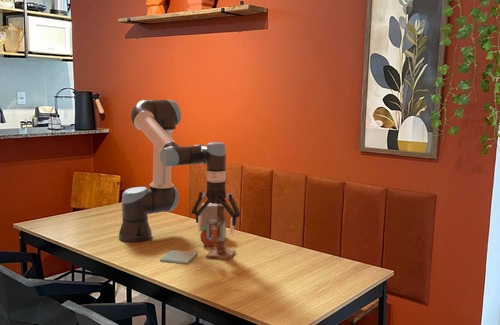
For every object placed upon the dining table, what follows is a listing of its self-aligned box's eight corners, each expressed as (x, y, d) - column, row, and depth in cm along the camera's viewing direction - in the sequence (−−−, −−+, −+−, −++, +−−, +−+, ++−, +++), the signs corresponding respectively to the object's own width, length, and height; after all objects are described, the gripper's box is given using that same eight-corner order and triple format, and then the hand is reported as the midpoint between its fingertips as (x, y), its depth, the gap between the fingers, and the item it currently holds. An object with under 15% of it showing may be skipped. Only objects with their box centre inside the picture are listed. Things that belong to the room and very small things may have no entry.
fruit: (223, 244, 230) (223, 223, 229) (208, 249, 223) (208, 227, 222) (210, 240, 236) (211, 220, 234) (195, 245, 229) (195, 223, 228)
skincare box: (220, 233, 247) (220, 202, 245) (217, 238, 240) (218, 205, 238) (203, 233, 248) (203, 201, 246) (200, 237, 241) (200, 205, 238)
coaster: (159, 261, 207) (159, 259, 207) (171, 252, 219) (171, 250, 219) (187, 263, 205) (187, 262, 205) (197, 254, 216) (197, 252, 216)
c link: (206, 239, 206) (206, 220, 205) (208, 237, 209) (208, 218, 208) (222, 241, 205) (223, 222, 203) (224, 239, 208) (225, 220, 206)
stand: (200, 263, 205) (200, 211, 202) (213, 250, 222) (213, 201, 219) (224, 266, 203) (224, 213, 200) (235, 252, 220) (236, 203, 216)
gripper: (183, 180, 202) (183, 232, 206) (244, 184, 197) (243, 237, 200) (190, 177, 210) (190, 227, 213) (248, 180, 204) (247, 231, 207)
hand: (215, 232), depth 206 cm, fingers open, 13 cm apart
